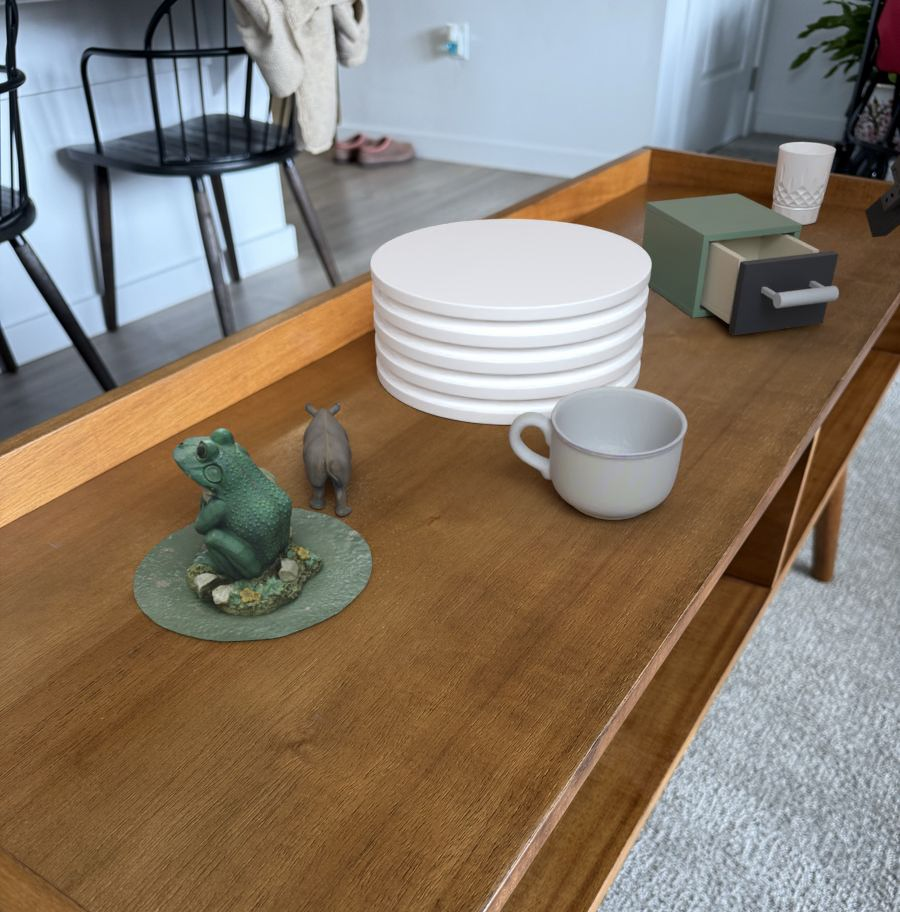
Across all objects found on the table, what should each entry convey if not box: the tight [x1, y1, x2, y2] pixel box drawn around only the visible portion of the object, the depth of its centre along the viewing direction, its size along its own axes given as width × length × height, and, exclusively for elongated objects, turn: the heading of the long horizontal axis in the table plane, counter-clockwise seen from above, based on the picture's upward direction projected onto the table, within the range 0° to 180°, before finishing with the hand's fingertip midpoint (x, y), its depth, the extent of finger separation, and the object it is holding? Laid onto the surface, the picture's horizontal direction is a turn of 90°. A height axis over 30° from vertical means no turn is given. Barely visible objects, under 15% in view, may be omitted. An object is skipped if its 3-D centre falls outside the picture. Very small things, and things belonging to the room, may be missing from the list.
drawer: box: [700, 233, 840, 336], centre depth 110 cm, size 18×11×8 cm, turn 17°
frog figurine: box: [132, 427, 373, 642], centre depth 70 cm, size 18×18×12 cm
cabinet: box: [641, 193, 803, 319], centre depth 118 cm, size 15×13×10 cm
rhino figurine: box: [302, 402, 353, 517], centre depth 83 cm, size 4×14×6 cm, turn 9°
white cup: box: [771, 141, 837, 226], centre depth 143 cm, size 8×8×10 cm
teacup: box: [508, 386, 688, 521], centre depth 79 cm, size 14×11×8 cm
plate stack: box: [369, 218, 652, 426], centre depth 100 cm, size 28×28×12 cm
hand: (875, 223), depth 91 cm, fingers closed
